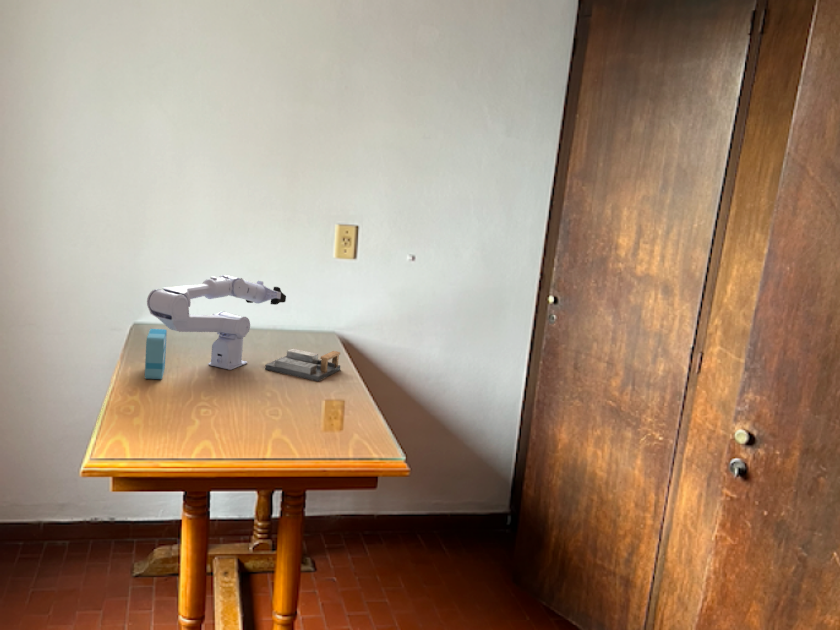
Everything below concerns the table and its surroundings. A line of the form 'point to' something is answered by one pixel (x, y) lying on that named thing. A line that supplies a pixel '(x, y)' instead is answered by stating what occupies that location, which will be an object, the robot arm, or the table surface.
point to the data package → (155, 353)
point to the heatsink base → (307, 367)
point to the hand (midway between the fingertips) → (274, 298)
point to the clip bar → (302, 356)
